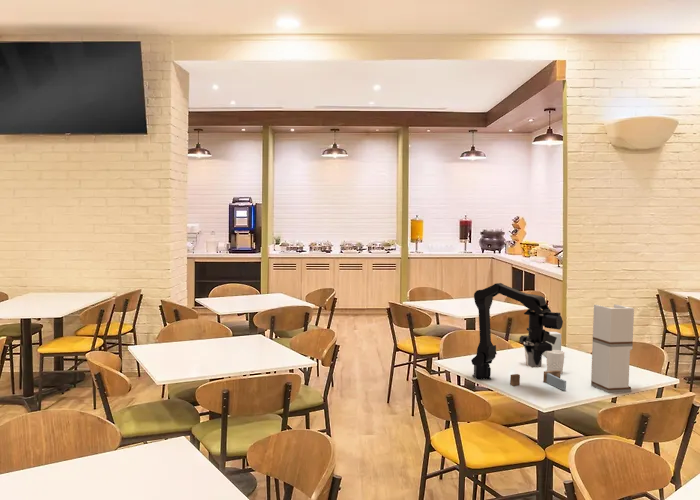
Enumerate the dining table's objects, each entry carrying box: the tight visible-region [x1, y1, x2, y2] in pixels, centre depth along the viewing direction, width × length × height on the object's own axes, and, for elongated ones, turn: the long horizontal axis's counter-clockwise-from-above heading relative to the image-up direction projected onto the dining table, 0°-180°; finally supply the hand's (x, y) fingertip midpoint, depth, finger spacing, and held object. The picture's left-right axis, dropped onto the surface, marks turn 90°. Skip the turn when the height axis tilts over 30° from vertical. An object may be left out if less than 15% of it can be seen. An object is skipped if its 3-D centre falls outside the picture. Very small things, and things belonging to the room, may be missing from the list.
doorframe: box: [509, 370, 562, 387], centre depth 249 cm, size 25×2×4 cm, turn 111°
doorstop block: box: [528, 352, 543, 368], centre depth 238 cm, size 4×4×6 cm
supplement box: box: [542, 331, 562, 358], centre depth 301 cm, size 7×7×13 cm
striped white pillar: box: [590, 304, 635, 394], centre depth 242 cm, size 11×11×35 cm
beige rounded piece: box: [546, 350, 565, 375], centre depth 268 cm, size 8×8×10 cm
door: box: [546, 373, 567, 392], centre depth 244 cm, size 13×2×4 cm, turn 13°
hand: (534, 363), depth 238 cm, fingers closed on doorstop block, 4 cm apart
